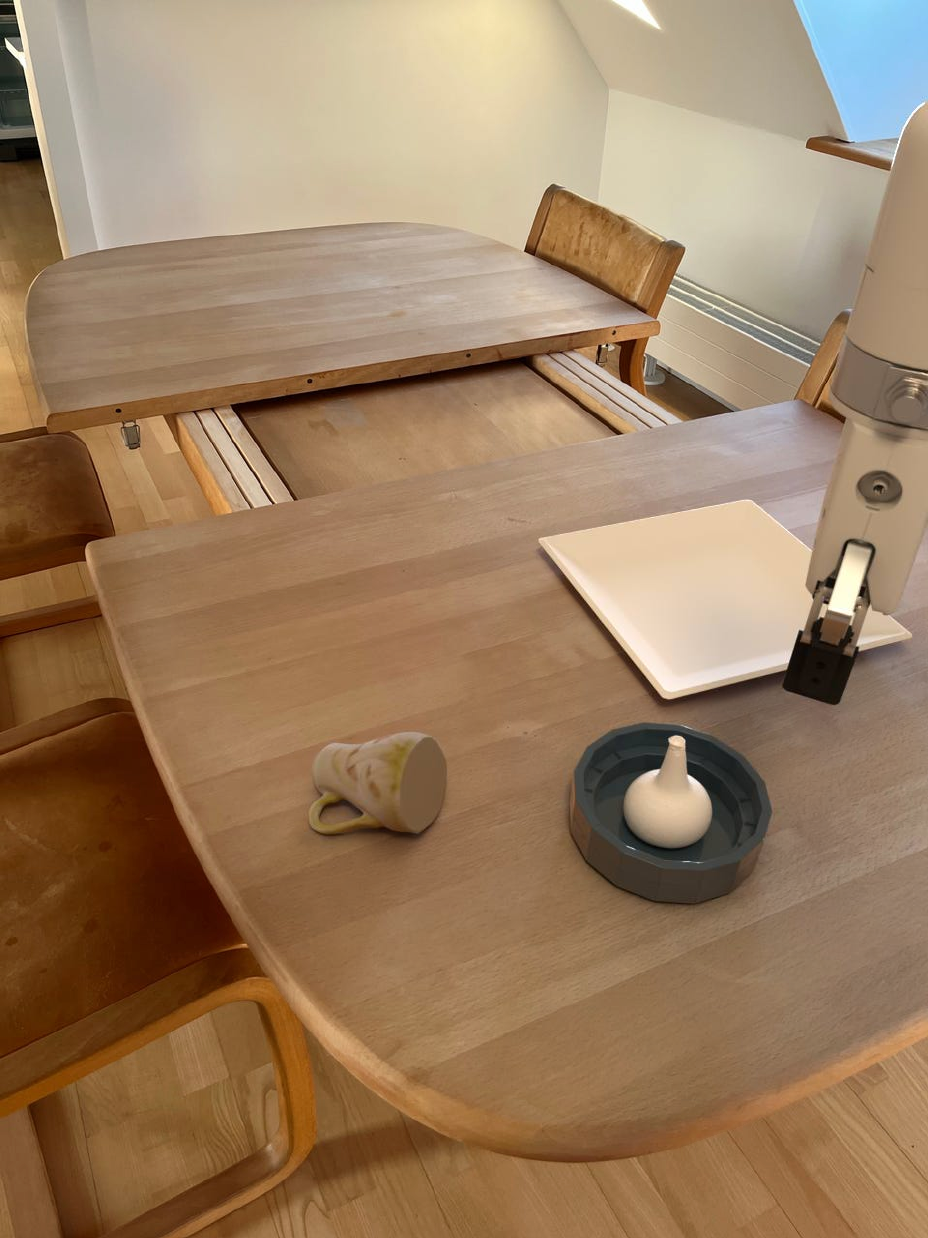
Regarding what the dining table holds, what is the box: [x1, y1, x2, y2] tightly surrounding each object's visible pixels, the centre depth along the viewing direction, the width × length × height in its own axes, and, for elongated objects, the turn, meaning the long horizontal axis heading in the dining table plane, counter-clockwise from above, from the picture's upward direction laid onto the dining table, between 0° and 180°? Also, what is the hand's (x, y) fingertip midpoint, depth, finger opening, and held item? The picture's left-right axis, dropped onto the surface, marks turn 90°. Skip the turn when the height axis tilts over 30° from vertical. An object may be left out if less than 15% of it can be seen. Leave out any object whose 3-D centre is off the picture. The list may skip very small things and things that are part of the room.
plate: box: [537, 499, 913, 701], centre depth 92 cm, size 26×26×2 cm
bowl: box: [569, 721, 773, 904], centre depth 68 cm, size 14×14×4 cm
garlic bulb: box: [623, 735, 712, 848], centre depth 67 cm, size 6×6×8 cm
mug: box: [308, 731, 448, 835], centre depth 68 cm, size 8×10×10 cm
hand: (824, 647), depth 57 cm, fingers open, 9 cm apart
